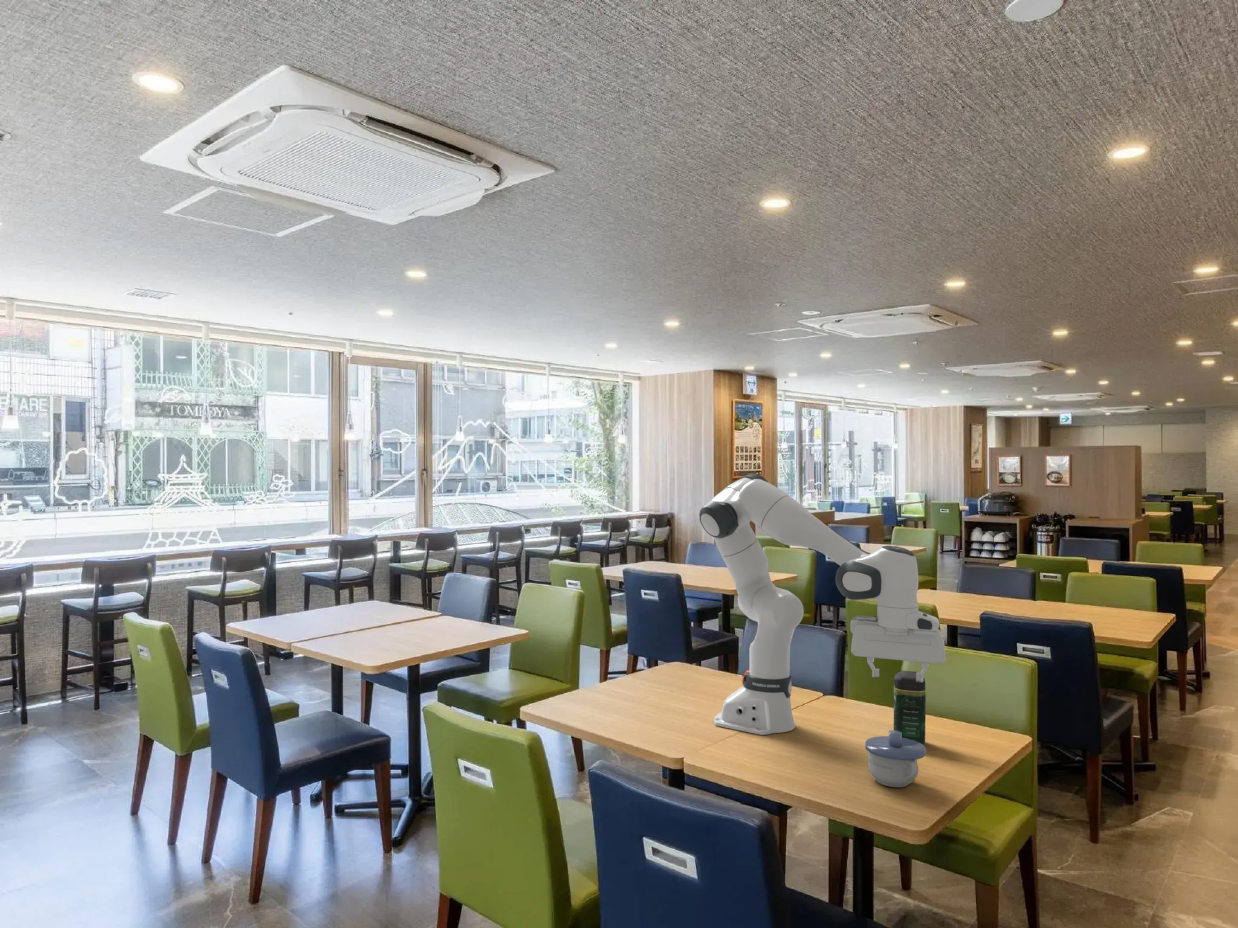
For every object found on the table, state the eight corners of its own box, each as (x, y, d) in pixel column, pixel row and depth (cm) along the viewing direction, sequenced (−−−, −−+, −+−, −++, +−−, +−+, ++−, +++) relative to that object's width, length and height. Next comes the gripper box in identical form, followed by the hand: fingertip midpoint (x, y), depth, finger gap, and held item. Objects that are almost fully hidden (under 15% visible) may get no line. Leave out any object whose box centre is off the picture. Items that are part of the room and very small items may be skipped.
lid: (862, 755, 177) (862, 736, 177) (868, 737, 189) (868, 720, 189) (925, 763, 172) (924, 744, 172) (926, 744, 184) (926, 727, 184)
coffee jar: (926, 751, 202) (926, 678, 202) (893, 748, 204) (893, 675, 205) (924, 739, 211) (924, 669, 211) (893, 736, 214) (893, 667, 214)
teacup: (860, 774, 186) (860, 740, 186) (905, 773, 187) (905, 739, 187) (885, 798, 172) (885, 761, 173) (933, 796, 173) (933, 759, 174)
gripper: (848, 616, 182) (848, 677, 182) (945, 623, 174) (945, 687, 174) (851, 612, 188) (851, 671, 187) (945, 619, 180) (945, 680, 179)
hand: (897, 679), depth 180 cm, fingers open, 8 cm apart
